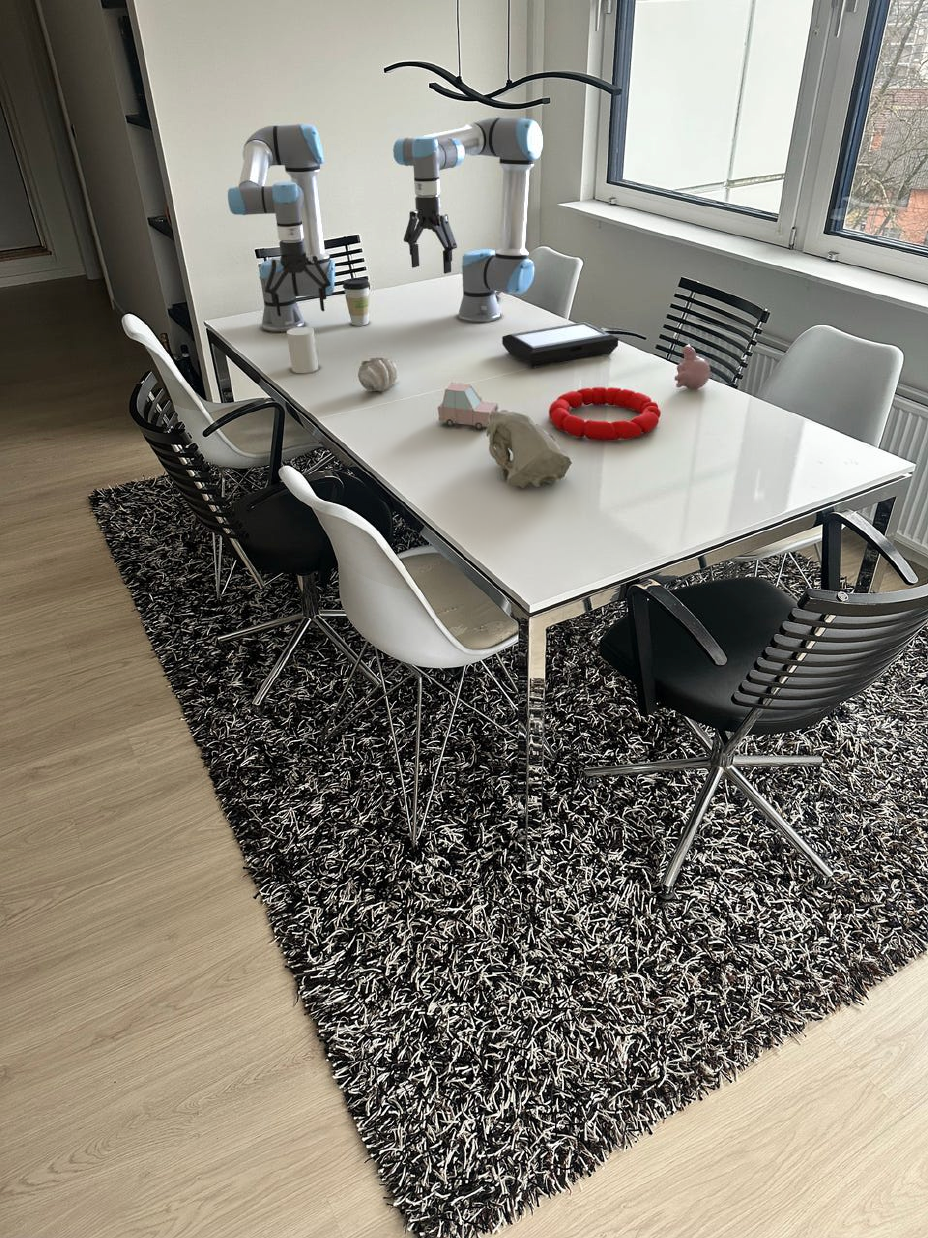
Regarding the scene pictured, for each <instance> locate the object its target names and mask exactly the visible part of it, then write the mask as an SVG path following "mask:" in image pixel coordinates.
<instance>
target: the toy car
mask: <svg viewBox="0 0 928 1238" xmlns="http://www.w3.org/2000/svg"><path fill="white" fill-rule="evenodd" d="M498 409H499V404H498V403H497V402H490V401H489V402H487V401H483V397H481V396H480V395H479V394H478V393H477V391H476V390H475V389H474V386H472V384H469V383H459V382H451V383H450V384H449V385H448V386H447V387H446V388H445V389H444V394H443V399H442V403H440V404H439V405H438V406H437V413H438V421H439V422H443V423H446V425H447V426H448V427H452V426H454V425H455V424H461V425H469V426H473V427H475V429H476V430H479V431H480V430H481V429H483V428H485V427H486V428H487V423H488V422H490V414H491V413H492V412H496V411H499V410H498Z"/></svg>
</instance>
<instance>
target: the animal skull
mask: <svg viewBox="0 0 928 1238" xmlns="http://www.w3.org/2000/svg"><path fill="white" fill-rule="evenodd" d="M485 436H486V438H487V437H489V438H488V440H489V444H488V445H489V446H488V450H489V454H490V456H491V457H492V458H493V459H494V460H495V462H496V464H497V466H499V468H500V470H501V471H502V472H501V478H502V479H507V480H506V484H507V486H517V487H518V486H519V488H523V489H524V488H526V486H527V485H529V483H531V485H533V486H534V487H536V488H540V485H541V484H542V482H544V483H549V484H550V485H553V484H555V483H556V482H557V480H561V479H563V478H565V476H566V474H567V472H568V471H569V469H570V467H571V466H572V464H573V462H572V461H571V458H570V457H568V456H567V455H565V453H564V451H562V449H561V448H560V446H559V444H557V443H556V439H555V438H554V436H553V435H551V434H550V433H548V432H547V431H546V430H545V429H544V428H542V427H541V426H539V425H538V424H537V423H536V424H535V422H534V421H533V419H532V418H531V417H530V416H529V415H527V414H524V413H519V412H515V411H509V410H507V409H502V410H500V411H499V410H497V411H496V412H492V413H491V414H490V422H488V423H487V427H486V435H485ZM511 453H512V454H511ZM511 455H512V457H513V458H512V460H511ZM507 474H508V475H507Z"/></svg>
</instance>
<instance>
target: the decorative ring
mask: <svg viewBox="0 0 928 1238" xmlns="http://www.w3.org/2000/svg"><path fill="white" fill-rule="evenodd" d="M583 405H584V406H586V407H587V406H591V405H593V406H604V405H608V406H614V407H619V408H624V409H628V410H632V411H635V412H636V413H638V414H639V415H637V416H635V417H632V418H631V419H630V420H625V419H624V420H623V419H622V420H614V421H611V422H609V421H607V420H606V421H605V420H593V419H587V420H586V421H585V419H584V418H582V417H579V416H577V415H573V414H571V413H570V410H571V409H579V408H581V407H582V406H583ZM548 416H549V419H550V422H551V423H552V425H553V426H554V427H555V428H556V429H558V430H559V431H561V432H563V433H567V434H568V435H569V436H573V437H576V438H580V439H582V438H583V437H585V438H586V439H587V440H591V441H601V442H602V441H603V442H608V441H609V442H610V441H611V442H612V441H615V442H616V441H618V440H630V439H634V438H638V437H641V436H642V434H647V433H650V432H651V431H653V430H654V429H655V428H656V427H657V426H658V424H659V422H660V421H659V420H660V417H661V410H660V408H659V405H658V403H657V402H656V401H652V399H651V397H649V396H648V395H646V394H644V393H642V392H635V391H634V390H632V389H628V388H624V389H622V388H620V387H613V386H612V387H611V386H610V387H608V388H606V387H604V386H594V387H585V388H584V387H583V388H580V389H578V390H571V391H568V392H565V393H563V394H561V395H560V396H558V397H557V398H556V400H554V401H552V403H551V404H550V407H549V409H548Z"/></svg>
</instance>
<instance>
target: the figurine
mask: <svg viewBox="0 0 928 1238" xmlns="http://www.w3.org/2000/svg"><path fill="white" fill-rule="evenodd" d="M682 354H683V358H684V359H683V361H682V362H679V363H678V364H677V365H676V372H677V375H675V376H674V381H675V382H676V381H677V382H676V384H675V386H676V388H681V387H686V388H688V389H693V390H694V389H695V390H696V389H700V388H703V387H704V386H705V385H706V384H707V383H708V382H709V379H710V377H711V367H710V364H709V362H708V361H706V359H704V358H702V357H700V356H697V353H696V350H695V349H694V347H692V345H690V344H686V345H685V346H684V347H683V348H682Z"/></svg>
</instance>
